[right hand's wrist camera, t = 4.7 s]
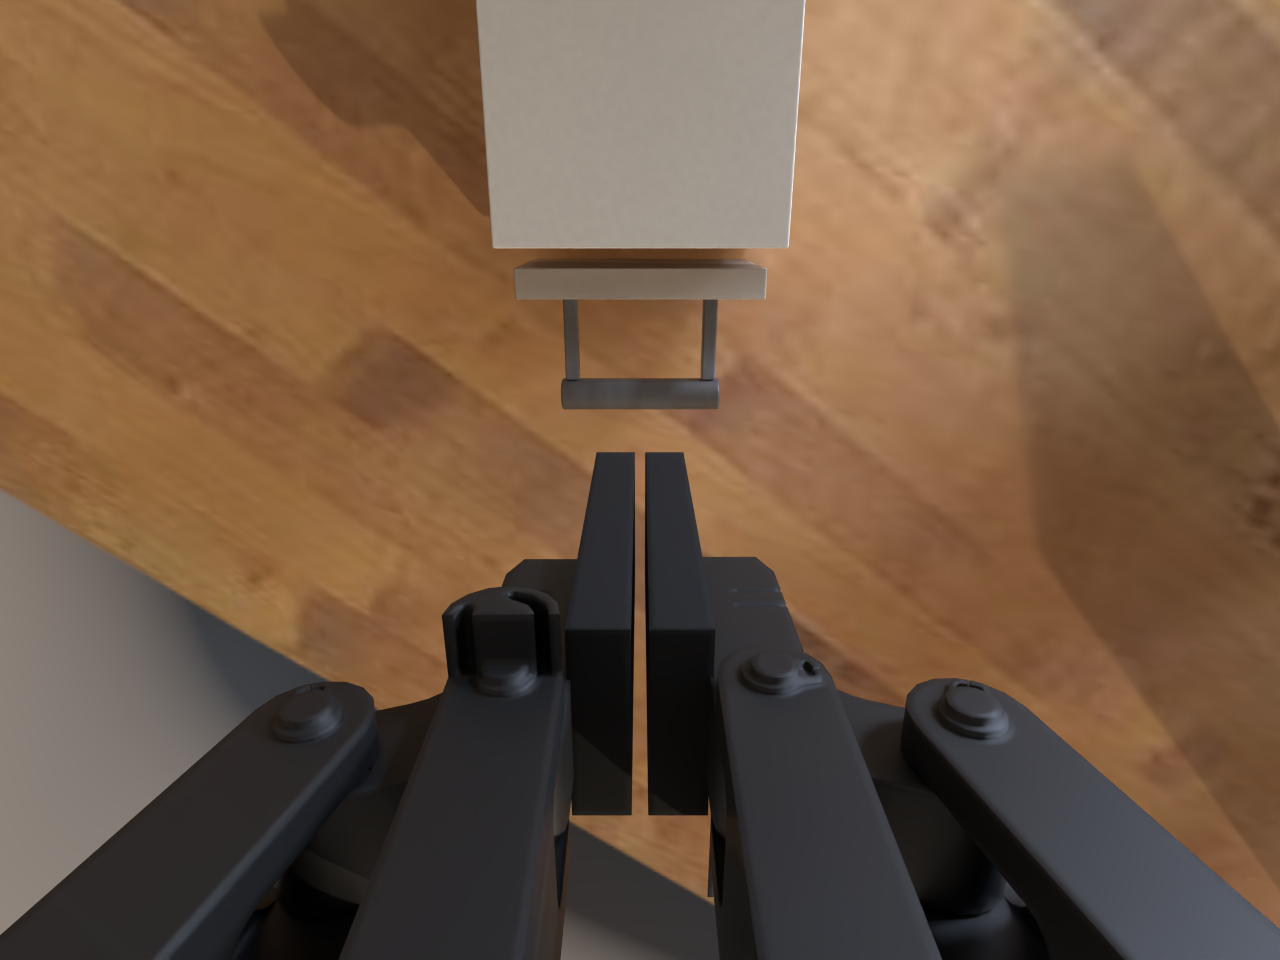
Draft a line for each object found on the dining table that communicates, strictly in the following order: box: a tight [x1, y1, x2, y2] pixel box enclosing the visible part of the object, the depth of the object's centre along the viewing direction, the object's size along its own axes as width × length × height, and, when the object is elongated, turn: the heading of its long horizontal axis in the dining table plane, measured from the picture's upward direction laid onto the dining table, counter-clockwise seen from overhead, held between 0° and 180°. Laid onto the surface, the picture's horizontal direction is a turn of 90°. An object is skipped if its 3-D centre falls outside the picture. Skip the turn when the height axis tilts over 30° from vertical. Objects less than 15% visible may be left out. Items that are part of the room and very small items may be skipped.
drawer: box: [514, 259, 767, 409], centre depth 29 cm, size 25×10×6 cm, turn 0°
